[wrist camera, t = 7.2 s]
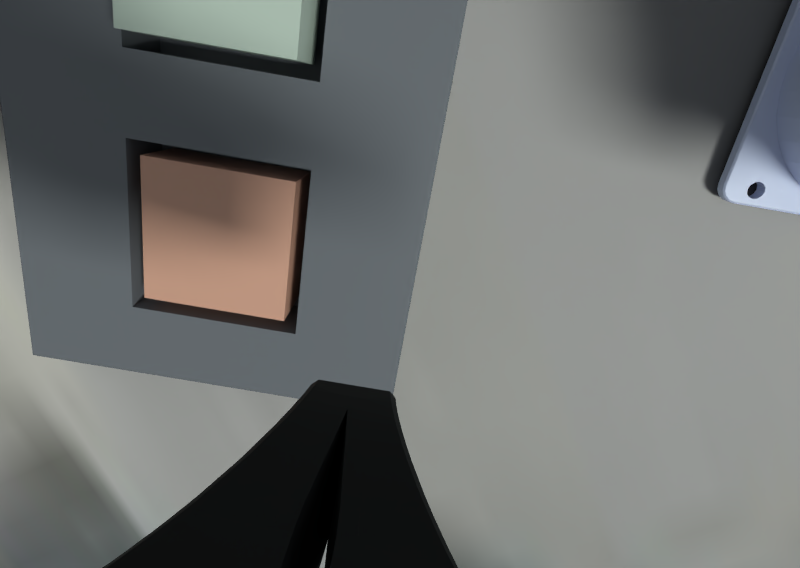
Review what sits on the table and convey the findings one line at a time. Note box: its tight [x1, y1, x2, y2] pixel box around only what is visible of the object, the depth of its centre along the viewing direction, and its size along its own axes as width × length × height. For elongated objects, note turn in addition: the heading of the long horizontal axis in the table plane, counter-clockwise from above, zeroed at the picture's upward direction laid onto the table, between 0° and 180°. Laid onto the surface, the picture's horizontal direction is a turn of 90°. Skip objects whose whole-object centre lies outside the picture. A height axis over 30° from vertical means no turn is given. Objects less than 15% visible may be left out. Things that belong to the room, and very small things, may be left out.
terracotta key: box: [140, 148, 311, 321], centre depth 15 cm, size 4×4×2 cm
